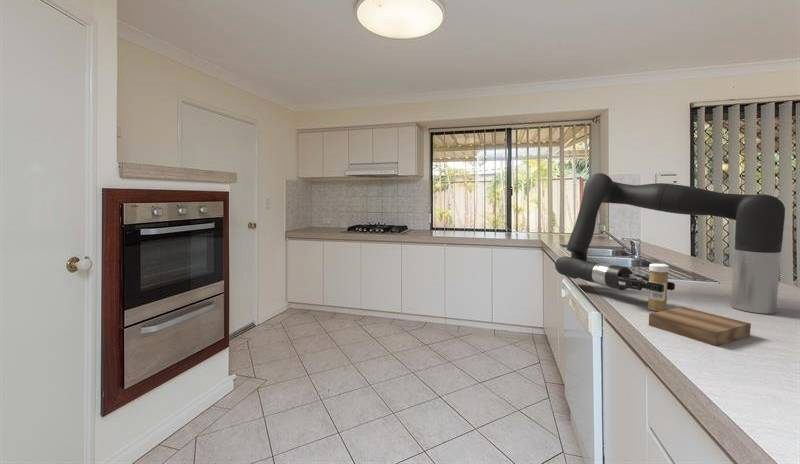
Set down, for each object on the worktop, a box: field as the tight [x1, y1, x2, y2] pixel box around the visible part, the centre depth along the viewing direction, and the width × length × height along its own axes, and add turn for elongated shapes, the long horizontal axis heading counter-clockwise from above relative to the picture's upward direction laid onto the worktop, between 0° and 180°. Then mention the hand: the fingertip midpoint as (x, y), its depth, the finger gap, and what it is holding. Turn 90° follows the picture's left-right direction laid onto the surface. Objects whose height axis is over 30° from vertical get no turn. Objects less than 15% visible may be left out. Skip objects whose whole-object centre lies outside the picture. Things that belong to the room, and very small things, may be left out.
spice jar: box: [647, 263, 670, 312], centre depth 99 cm, size 5×5×13 cm
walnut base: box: [648, 306, 752, 347], centre depth 84 cm, size 14×14×3 cm
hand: (668, 287), depth 97 cm, fingers closed on spice jar, 4 cm apart
